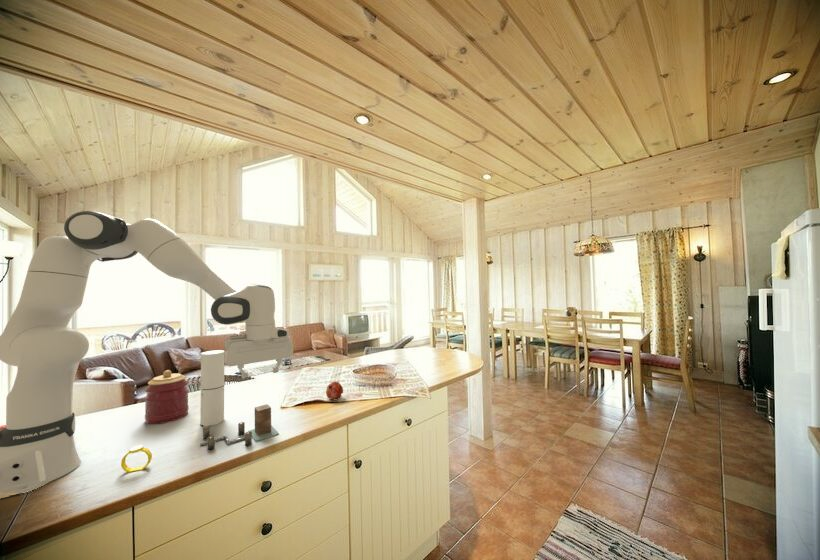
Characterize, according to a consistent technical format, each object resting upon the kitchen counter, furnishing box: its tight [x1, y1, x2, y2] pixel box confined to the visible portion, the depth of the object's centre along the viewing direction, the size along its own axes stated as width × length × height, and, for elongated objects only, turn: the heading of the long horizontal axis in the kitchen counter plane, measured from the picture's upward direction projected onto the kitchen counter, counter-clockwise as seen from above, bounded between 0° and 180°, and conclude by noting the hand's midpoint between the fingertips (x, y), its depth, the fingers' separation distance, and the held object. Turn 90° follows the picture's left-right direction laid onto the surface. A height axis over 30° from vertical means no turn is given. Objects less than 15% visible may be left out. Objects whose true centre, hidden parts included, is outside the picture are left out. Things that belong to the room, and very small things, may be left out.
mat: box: [247, 424, 280, 443], centre depth 99 cm, size 7×9×1 cm
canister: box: [144, 369, 190, 425], centre depth 114 cm, size 13×13×18 cm
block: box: [254, 403, 272, 436], centre depth 100 cm, size 4×4×8 cm
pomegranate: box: [325, 381, 344, 400], centre depth 130 cm, size 7×7×10 cm
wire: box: [199, 435, 245, 447], centre depth 95 cm, size 13×6×1 cm, turn 131°
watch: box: [120, 444, 153, 473], centre depth 80 cm, size 6×3×6 cm, turn 112°
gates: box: [202, 421, 253, 451], centre depth 95 cm, size 11×16×4 cm
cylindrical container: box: [199, 349, 225, 427], centre depth 110 cm, size 7×7×25 cm
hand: (260, 375), depth 99 cm, fingers open, 8 cm apart
